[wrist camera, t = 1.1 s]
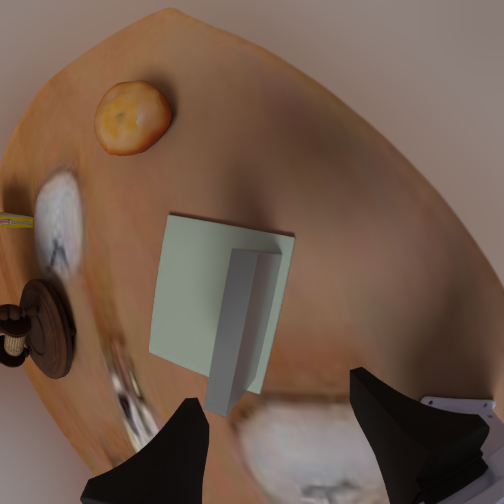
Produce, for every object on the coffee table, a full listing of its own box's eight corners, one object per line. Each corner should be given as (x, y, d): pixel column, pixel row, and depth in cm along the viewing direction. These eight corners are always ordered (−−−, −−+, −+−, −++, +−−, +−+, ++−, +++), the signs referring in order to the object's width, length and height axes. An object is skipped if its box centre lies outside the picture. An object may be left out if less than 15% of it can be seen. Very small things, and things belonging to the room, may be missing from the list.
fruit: (148, 75, 26) (124, 59, 19) (191, 117, 29) (177, 111, 21) (103, 123, 28) (69, 123, 20) (143, 166, 30) (116, 175, 23)
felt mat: (295, 237, 22) (294, 237, 22) (260, 392, 23) (259, 393, 23) (170, 215, 26) (168, 214, 25) (151, 350, 26) (148, 351, 26)
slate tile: (282, 254, 22) (258, 253, 16) (255, 377, 23) (225, 417, 16) (261, 250, 23) (229, 247, 16) (236, 372, 23) (201, 408, 17)
